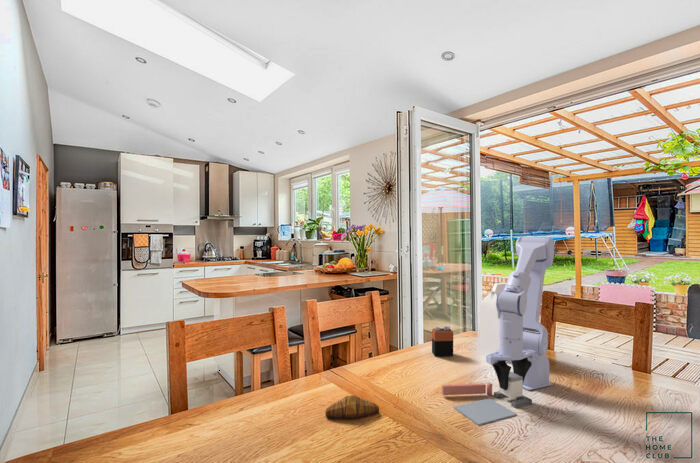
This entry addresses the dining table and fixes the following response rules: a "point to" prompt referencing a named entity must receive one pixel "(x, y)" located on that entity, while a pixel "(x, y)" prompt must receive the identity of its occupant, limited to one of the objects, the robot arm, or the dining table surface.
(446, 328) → the battery
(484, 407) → the slate mat
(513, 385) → the plug
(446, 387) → the pink flat bar
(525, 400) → the bracket
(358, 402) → the croissant
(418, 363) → the dining table surface
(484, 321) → the milk
